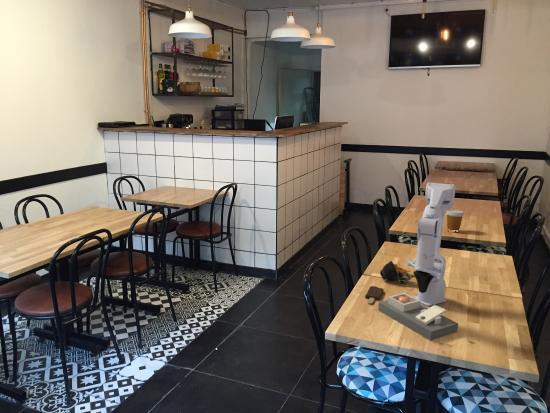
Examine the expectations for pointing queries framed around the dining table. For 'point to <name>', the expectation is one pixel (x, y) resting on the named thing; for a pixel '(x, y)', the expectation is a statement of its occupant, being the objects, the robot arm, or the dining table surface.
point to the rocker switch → (430, 314)
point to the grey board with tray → (408, 317)
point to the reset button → (404, 299)
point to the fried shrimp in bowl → (395, 273)
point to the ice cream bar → (374, 294)
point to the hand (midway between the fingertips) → (422, 291)
